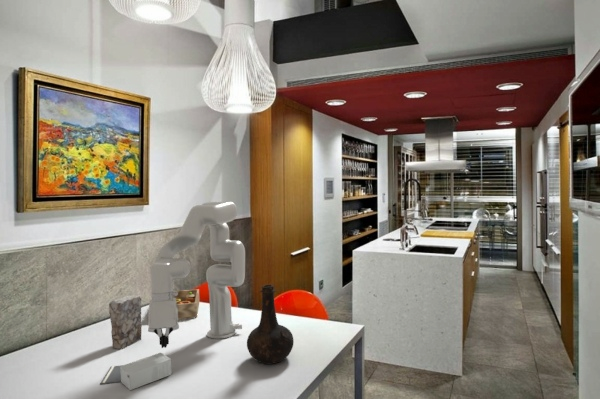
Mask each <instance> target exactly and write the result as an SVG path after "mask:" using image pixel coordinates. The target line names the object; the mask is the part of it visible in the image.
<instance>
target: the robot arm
mask: <svg viewBox="0 0 600 399" xmlns="http://www.w3.org/2000/svg"><path fill="white" fill-rule="evenodd" d="M237 216H238V207H237V204H235V203H234V202H233V201H208V202H204V203H202V204H198V205H194V206H193V207H192V208H191V209H190V210H189V212H188V214H187V216H186V218H185V221H184V223H183V225H182V226H181V229H180V231H179V232H178V233H177V234H176V235H175V236H174V237H172V238H171V239H170V240H168V241H167V242H166V243H165V244H164V245H163V246H162V247H160V249H159V252H158V253H157V255H156V257H155V260H154V262H153V263H152V264H150V270H149V271H150V273H149V274H150V293H151V295H150V296H151V299H150V300H149V304H148V316H147V317H148V318H147V320H148V321H147V322H148V324H147V325H148V329H147V332H148V333H155V334H156V335H157V336H158V337H159V345H160V346H161V348H162V349H163V348H165V349H166V348H167V346H168V345H169V344H170V343H169V342H170V341H169V335H170V334H171V333H172V332H173V331H176V330H178V329H179V328H180V325H179V319H178V309H177V302H176V298H173V297H174V296H177V292H174V291H175V290H174V280H180V279H185V278H186V277H187V276H189V274H190V273H191V270H192V266H191V263H190V261H189V260H187V259H186V258H179V257H178V258H175V257H174V256H176V255H177V254H179V253H180V252H181V251H184V250H187V249H189V248H190V247H193V246H195V245H197V244H198V243H199V242H200V240H201V238H202V235H203V233H204V231H205V228H206V227H207V226H208V227H209V232H210V234H209V235H210V240H209V242H210V243H209V248H210V249H209V253H210V258H211V259H212V260H213V261H215V262H226V263H227V262H230V263H231V264H221V263H220V264H216V263H215V264H212V265H210V266H208V268H207V269H206V273H205V278H206V282H207V286H208V296H209V301H208V302H209V318H210V319H209V323H210V324H209V325H210V329H209V330H208V331H207V334H206V336H207V337H208V338H210V339H215V340H216V339H218V340H221V339H226V338H230V337H232V336H234V335H236V330H242V329H243V325H242V324H240V323H236V324H235V323H233V321H232V319H233V318H232V295H231V292H230V289H229V288H228V287H230V288H231V287H235V288H236V287H237V288H238V287H241V286H242V285H243V284H244V282H245V277H246V248H245V246H244V244H243V242H242V241H240V240H236V239H235V240H233V239H232V240H231V239H230V228H229V225H228V223H230V222H233V221H234V220H235V219H236V217H237ZM163 329H165V333H164V332H163Z"/></svg>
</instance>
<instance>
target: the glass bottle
mask: <svg viewBox="0 0 600 399" xmlns="http://www.w3.org/2000/svg"><path fill="white" fill-rule="evenodd" d="M274 286H275V285H274V284H265V285H262V286H261V290H260V291H259V293H261V296H262V297H261V300H262V301H261V311H260V312H261V313H260V320H259V324H258V326H257V327H255V328H253V329H252V330H251V331H250V333H249V334H248V337H247V339H246V348H247V351H248V352H249V355H250V356H251V357H252V358H253V359H254V360H255V361H257V362H259V363H261V364H268V365H269V364H277V363H279V362H282V361H284V360H285V359H287V357H289V355H290V353H291V352H292V350H293V347H294V343H295V342H294V336H293V333H292V332H291V330H290V329H289V328H287V327H285V326H284V325H282V324H279V322H278V318H277V313H276V307H275V306H276V305H275V293H276V291H277V290H276V289H274Z"/></svg>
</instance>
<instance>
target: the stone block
mask: <svg viewBox="0 0 600 399" xmlns="http://www.w3.org/2000/svg"><path fill="white" fill-rule="evenodd" d="M108 305H109V306H108V310H109V311H108V312H109V318H110V325H111V341H112V345H111V346H112V348H113V349H117V350H123V348H124V349H126V348H127V346H128V347H129V346H131V345H133V344H135V343H137V342H139V341H140V340H142V324H143V323H142V297H141V296H139V295H133V294H130V295H125V296H122V297H119V298H116V299H112V301H110V302H109V304H108ZM125 347H126V348H125Z"/></svg>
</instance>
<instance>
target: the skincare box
mask: <svg viewBox="0 0 600 399" xmlns="http://www.w3.org/2000/svg"><path fill="white" fill-rule="evenodd" d="M171 360H172V359H171V358H170V357H168V355H165V354H164V353H162V352H158V353H155V354H152V355H150V356H146V357H144V358H141V359H138V360H136V361H131V362H129V363H126V364H123V366H120V365H119V366H120V371H121V382H120V383H121V384H123V385H124V386H125V387H126V388H127V389H128V390H130V391H132V390H136V389H137V388H139V387H143V386H145V385H148V384H150V383H153V382H156V381H158V380H160V379H163V378H166V377H168V376H171V375H172V361H171Z"/></svg>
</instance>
